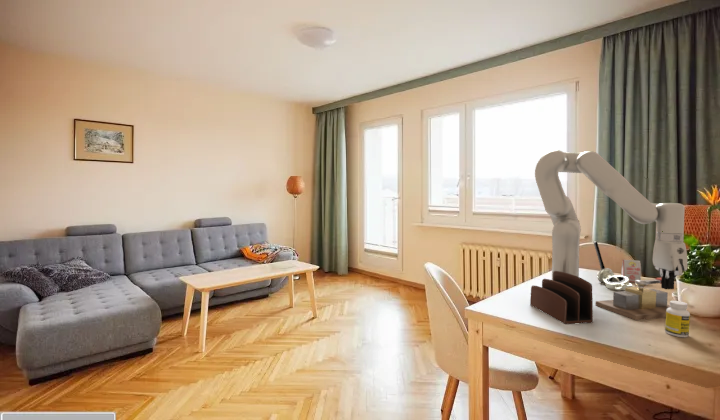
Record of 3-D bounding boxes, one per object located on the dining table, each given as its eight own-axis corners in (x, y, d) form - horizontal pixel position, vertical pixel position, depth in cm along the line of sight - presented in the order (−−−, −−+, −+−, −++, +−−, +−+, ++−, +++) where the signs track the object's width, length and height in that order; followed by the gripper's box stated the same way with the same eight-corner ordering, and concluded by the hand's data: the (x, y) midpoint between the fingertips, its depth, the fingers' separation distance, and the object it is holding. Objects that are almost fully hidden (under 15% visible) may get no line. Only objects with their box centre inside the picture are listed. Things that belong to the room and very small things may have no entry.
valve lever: (641, 286, 127) (642, 281, 127) (633, 284, 130) (633, 279, 130) (672, 283, 131) (672, 279, 131) (663, 281, 134) (663, 277, 134)
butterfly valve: (638, 291, 151) (615, 278, 168) (625, 248, 149) (604, 238, 166) (616, 297, 153) (595, 283, 169) (603, 253, 151) (584, 244, 167)
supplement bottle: (682, 339, 105) (684, 306, 104) (661, 332, 110) (662, 301, 109) (692, 336, 107) (694, 303, 106) (671, 329, 112) (672, 298, 111)
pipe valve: (627, 310, 125) (628, 289, 124) (611, 304, 131) (612, 284, 130) (669, 306, 128) (670, 286, 128) (651, 301, 135) (652, 281, 134)
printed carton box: (621, 279, 173) (621, 258, 173) (638, 280, 170) (639, 260, 170) (622, 281, 170) (623, 260, 169) (640, 282, 167) (641, 261, 166)
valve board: (636, 320, 120) (636, 315, 120) (595, 305, 135) (595, 301, 135) (688, 315, 124) (688, 310, 124) (642, 301, 140) (643, 297, 140)
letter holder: (554, 304, 137) (555, 268, 136) (593, 323, 118) (594, 281, 117) (529, 305, 136) (530, 268, 135) (564, 324, 117) (566, 282, 116)
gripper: (699, 240, 119) (697, 294, 120) (663, 235, 134) (661, 283, 135) (675, 240, 120) (673, 294, 121) (642, 235, 135) (641, 283, 136)
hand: (667, 288), depth 128 cm, fingers closed
